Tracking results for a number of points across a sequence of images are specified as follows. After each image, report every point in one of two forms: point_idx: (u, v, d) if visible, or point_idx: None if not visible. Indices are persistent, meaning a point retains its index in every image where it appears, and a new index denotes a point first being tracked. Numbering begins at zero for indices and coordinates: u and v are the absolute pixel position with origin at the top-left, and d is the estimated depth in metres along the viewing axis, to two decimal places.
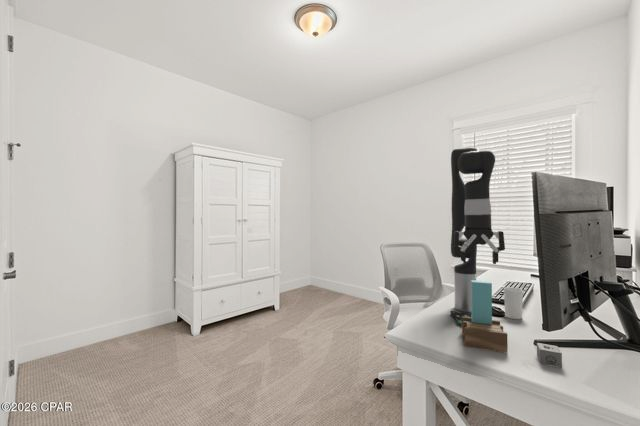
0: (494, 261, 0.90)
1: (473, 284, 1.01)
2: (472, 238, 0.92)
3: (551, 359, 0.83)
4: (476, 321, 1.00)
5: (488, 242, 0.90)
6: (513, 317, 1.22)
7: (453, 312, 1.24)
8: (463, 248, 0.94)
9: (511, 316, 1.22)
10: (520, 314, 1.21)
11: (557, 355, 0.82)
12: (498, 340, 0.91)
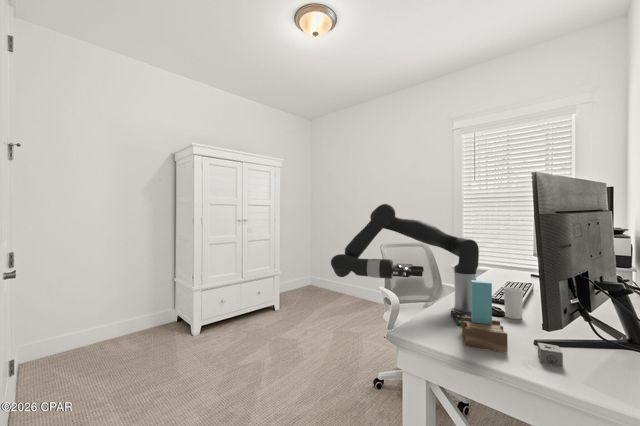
0: None
1: (473, 284, 1.01)
2: None
3: (552, 359, 0.83)
4: (476, 321, 1.00)
5: None
6: (513, 317, 1.22)
7: (453, 312, 1.24)
8: None
9: (511, 316, 1.22)
10: (520, 314, 1.21)
11: (558, 355, 0.82)
12: (498, 340, 0.91)
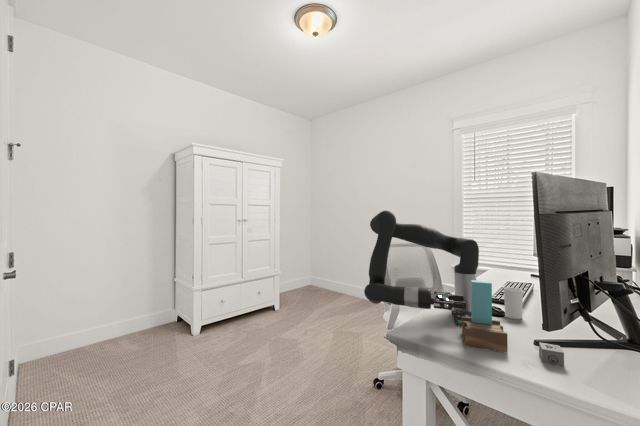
0: None
1: (473, 284, 1.01)
2: None
3: (553, 359, 0.83)
4: (476, 321, 1.00)
5: None
6: (513, 317, 1.22)
7: (454, 312, 1.24)
8: None
9: (511, 316, 1.22)
10: (520, 314, 1.21)
11: (559, 355, 0.82)
12: (498, 340, 0.91)
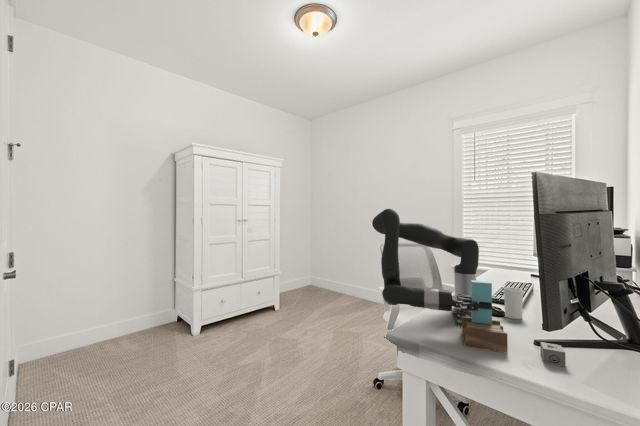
0: None
1: (473, 284, 1.01)
2: None
3: (555, 358, 0.83)
4: (476, 321, 1.00)
5: None
6: (513, 317, 1.22)
7: (455, 312, 1.24)
8: None
9: (511, 316, 1.22)
10: (520, 314, 1.21)
11: (561, 354, 0.83)
12: (498, 340, 0.91)
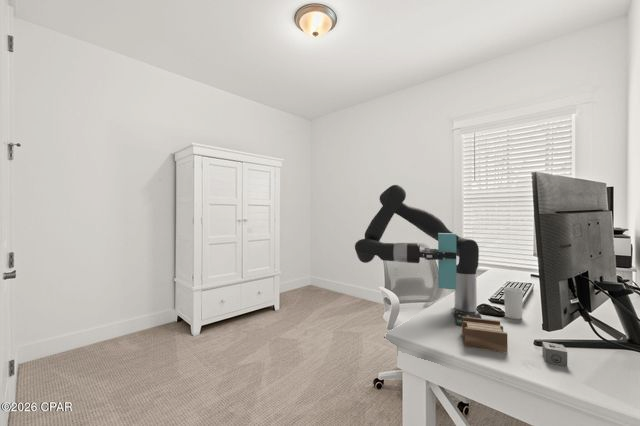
0: None
1: (439, 236, 1.05)
2: None
3: (556, 358, 0.83)
4: (442, 271, 1.05)
5: None
6: (513, 317, 1.22)
7: (456, 312, 1.24)
8: None
9: (511, 316, 1.22)
10: (520, 314, 1.21)
11: (562, 354, 0.83)
12: (498, 340, 0.91)
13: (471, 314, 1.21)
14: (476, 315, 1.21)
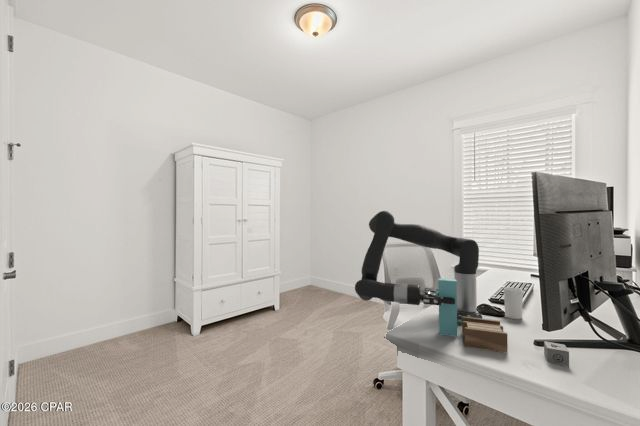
0: None
1: (439, 282, 1.05)
2: None
3: (558, 357, 0.84)
4: (442, 318, 1.04)
5: None
6: (513, 317, 1.22)
7: (457, 312, 1.24)
8: None
9: (511, 316, 1.22)
10: (520, 314, 1.21)
11: (564, 353, 0.83)
12: (498, 340, 0.91)
13: (472, 314, 1.21)
14: (477, 315, 1.21)
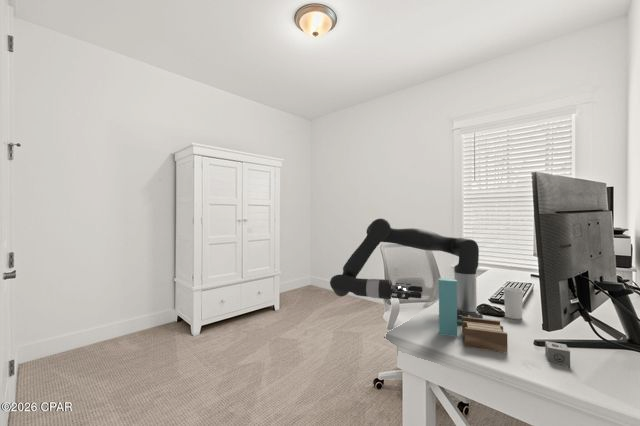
0: None
1: (440, 282, 1.05)
2: None
3: (559, 357, 0.84)
4: (442, 318, 1.04)
5: None
6: (513, 317, 1.22)
7: (458, 312, 1.24)
8: (409, 291, 1.15)
9: (511, 316, 1.22)
10: (520, 314, 1.21)
11: (565, 353, 0.83)
12: (498, 340, 0.91)
13: (473, 314, 1.21)
14: (478, 315, 1.20)
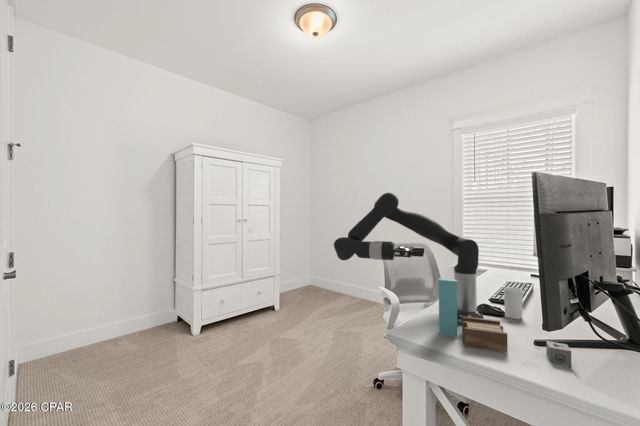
0: None
1: (440, 282, 1.05)
2: None
3: (560, 357, 0.84)
4: (442, 318, 1.04)
5: None
6: (513, 317, 1.22)
7: (458, 312, 1.25)
8: None
9: (511, 316, 1.22)
10: (520, 314, 1.21)
11: (566, 353, 0.83)
12: (498, 340, 0.91)
13: (473, 314, 1.21)
14: (479, 316, 1.20)
